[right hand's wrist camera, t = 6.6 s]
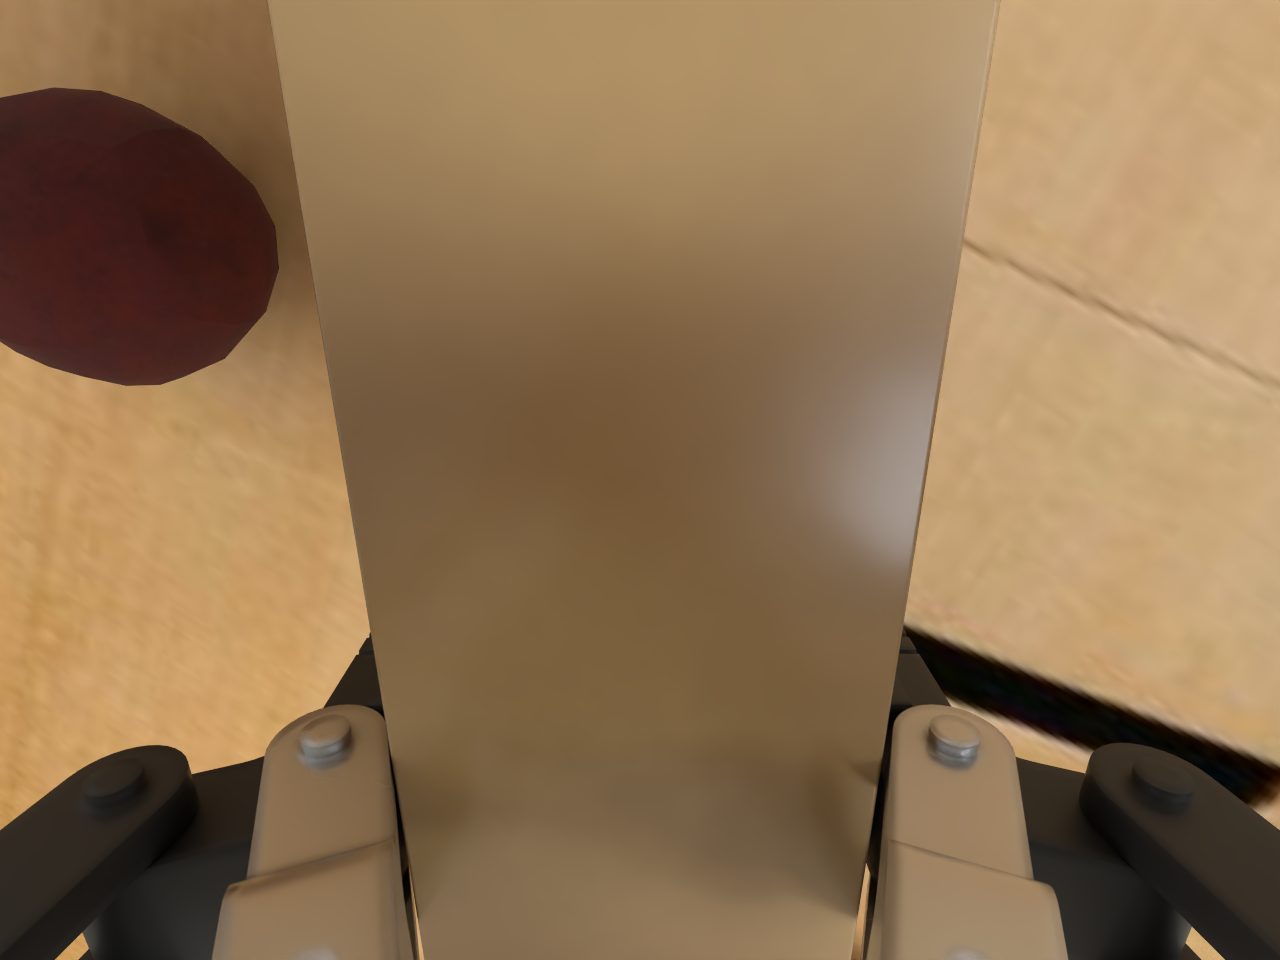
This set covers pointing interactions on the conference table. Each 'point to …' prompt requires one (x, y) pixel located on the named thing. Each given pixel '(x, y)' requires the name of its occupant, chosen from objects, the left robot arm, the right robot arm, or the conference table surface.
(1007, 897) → the right robot arm
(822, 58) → the bar
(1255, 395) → the conference table surface
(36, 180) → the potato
